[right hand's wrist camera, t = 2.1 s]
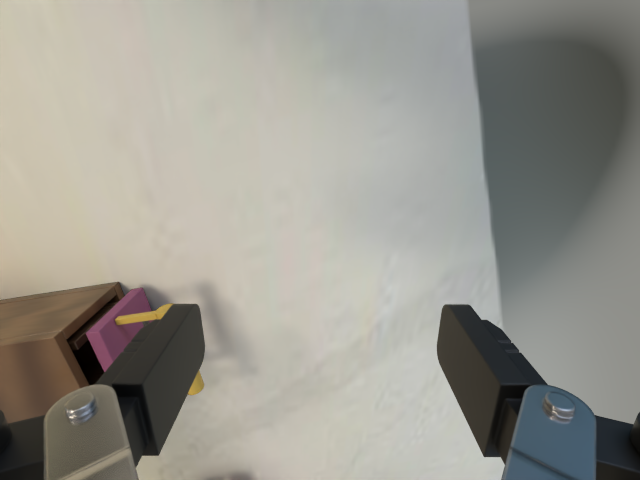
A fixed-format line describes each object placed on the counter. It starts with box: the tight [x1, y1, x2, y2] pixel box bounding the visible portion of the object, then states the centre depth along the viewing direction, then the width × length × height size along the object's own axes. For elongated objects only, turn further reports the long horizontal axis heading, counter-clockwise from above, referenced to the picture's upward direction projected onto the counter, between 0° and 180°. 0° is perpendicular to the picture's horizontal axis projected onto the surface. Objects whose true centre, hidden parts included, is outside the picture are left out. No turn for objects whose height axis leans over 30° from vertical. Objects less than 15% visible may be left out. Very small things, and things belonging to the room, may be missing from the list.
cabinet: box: [0, 282, 124, 423], centre depth 34 cm, size 17×10×9 cm, turn 99°
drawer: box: [66, 288, 204, 395], centre depth 33 cm, size 21×9×8 cm, turn 99°
